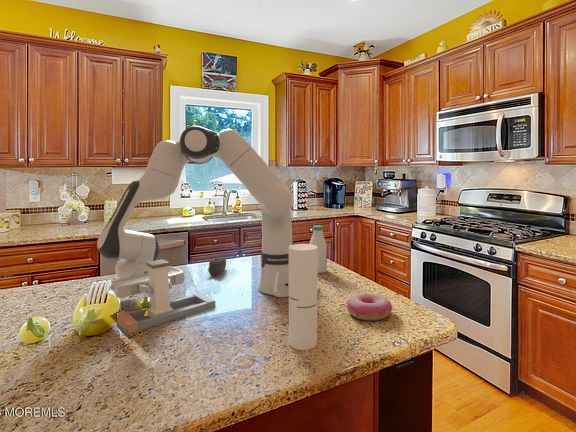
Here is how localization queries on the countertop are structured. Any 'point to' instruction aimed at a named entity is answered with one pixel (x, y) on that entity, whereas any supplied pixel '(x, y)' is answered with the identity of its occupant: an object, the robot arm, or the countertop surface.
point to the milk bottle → (320, 248)
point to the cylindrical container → (303, 296)
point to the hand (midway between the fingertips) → (160, 288)
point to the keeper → (159, 288)
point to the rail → (181, 309)
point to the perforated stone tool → (217, 266)
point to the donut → (369, 306)
